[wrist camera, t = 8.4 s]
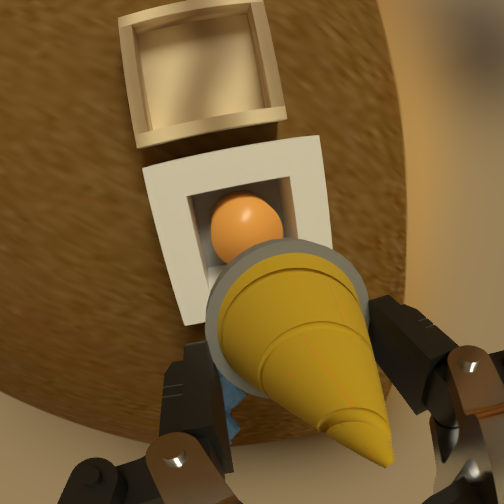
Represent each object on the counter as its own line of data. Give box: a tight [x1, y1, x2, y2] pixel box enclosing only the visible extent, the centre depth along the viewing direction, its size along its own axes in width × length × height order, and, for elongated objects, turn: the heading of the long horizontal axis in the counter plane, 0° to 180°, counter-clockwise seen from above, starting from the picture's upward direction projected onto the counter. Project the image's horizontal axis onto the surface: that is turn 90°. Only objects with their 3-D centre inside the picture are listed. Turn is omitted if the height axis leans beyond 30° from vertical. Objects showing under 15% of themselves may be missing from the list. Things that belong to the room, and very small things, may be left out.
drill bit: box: [205, 238, 395, 468], centre depth 8 cm, size 5×5×10 cm
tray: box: [118, 0, 287, 148], centre depth 20 cm, size 11×11×3 cm
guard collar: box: [142, 135, 333, 326], centre depth 24 cm, size 12×12×5 cm
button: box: [210, 190, 283, 264], centre depth 24 cm, size 5×5×4 cm
